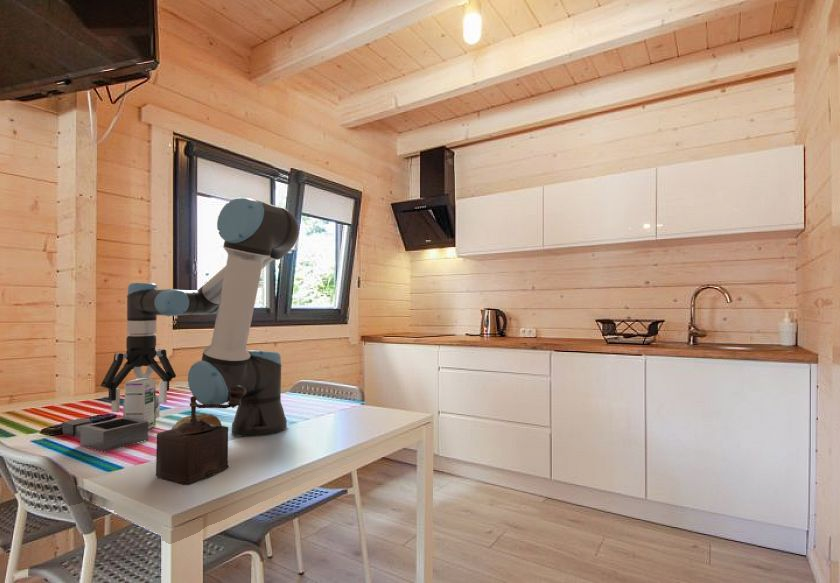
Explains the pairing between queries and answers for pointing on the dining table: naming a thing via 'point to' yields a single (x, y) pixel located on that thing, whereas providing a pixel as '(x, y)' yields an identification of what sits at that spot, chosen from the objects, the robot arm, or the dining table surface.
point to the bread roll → (205, 417)
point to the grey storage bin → (107, 432)
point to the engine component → (148, 373)
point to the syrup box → (141, 400)
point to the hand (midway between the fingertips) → (140, 406)
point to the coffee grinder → (195, 445)
